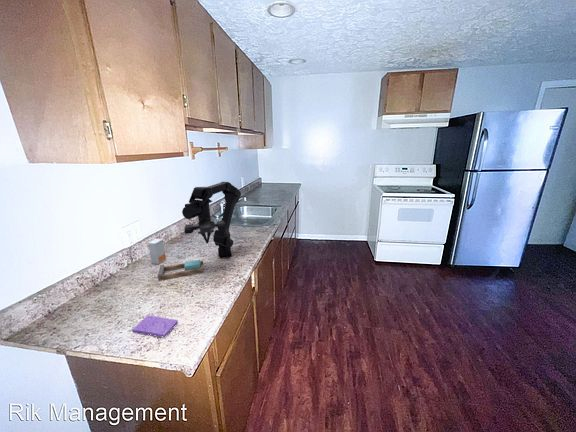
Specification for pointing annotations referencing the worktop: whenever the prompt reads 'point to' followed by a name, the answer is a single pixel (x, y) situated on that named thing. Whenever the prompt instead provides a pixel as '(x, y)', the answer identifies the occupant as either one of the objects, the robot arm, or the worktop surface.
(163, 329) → the sponges
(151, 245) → the skincare box
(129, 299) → the worktop surface
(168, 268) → the guide channel
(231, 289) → the worktop surface
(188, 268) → the block
